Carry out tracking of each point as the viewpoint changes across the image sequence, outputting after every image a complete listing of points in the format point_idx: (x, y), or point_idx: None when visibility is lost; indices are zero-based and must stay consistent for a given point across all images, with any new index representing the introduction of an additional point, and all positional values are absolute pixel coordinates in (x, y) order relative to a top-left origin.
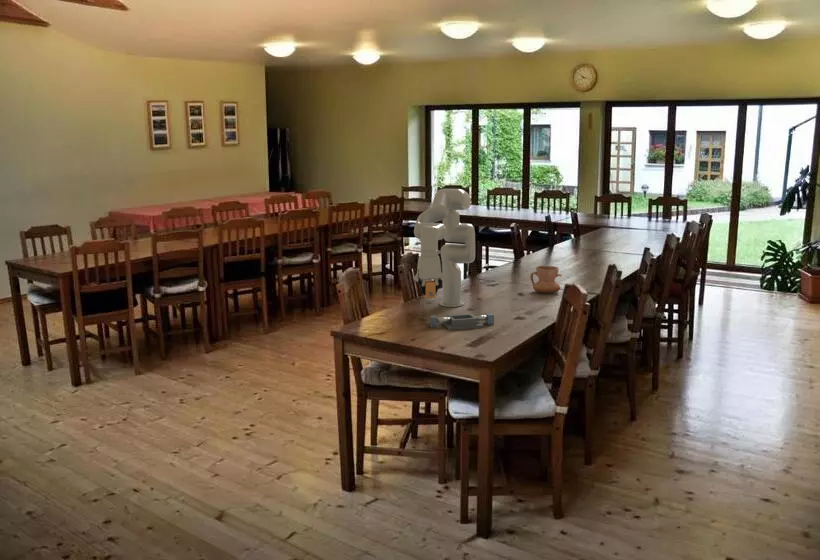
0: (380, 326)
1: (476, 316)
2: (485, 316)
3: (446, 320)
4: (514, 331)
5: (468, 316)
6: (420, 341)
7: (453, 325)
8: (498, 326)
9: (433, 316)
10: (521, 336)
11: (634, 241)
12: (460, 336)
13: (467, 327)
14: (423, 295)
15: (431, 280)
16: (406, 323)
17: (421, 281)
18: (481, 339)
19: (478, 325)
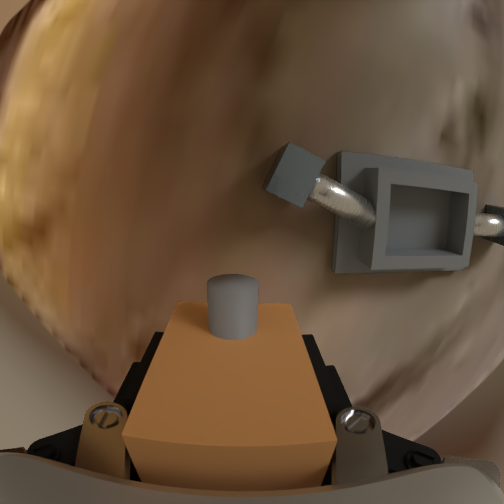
0: (48, 123)
1: (478, 230)
2: (500, 235)
3: (349, 221)
4: (493, 330)
5: (460, 192)
6: None
7: (361, 261)
8: (494, 267)
9: (293, 171)
10: (475, 376)
11: None
12: (335, 360)
13: (410, 270)
14: (177, 309)
15: (298, 455)
16: (164, 88)
17: (91, 459)
18: (379, 396)
19: (450, 270)
